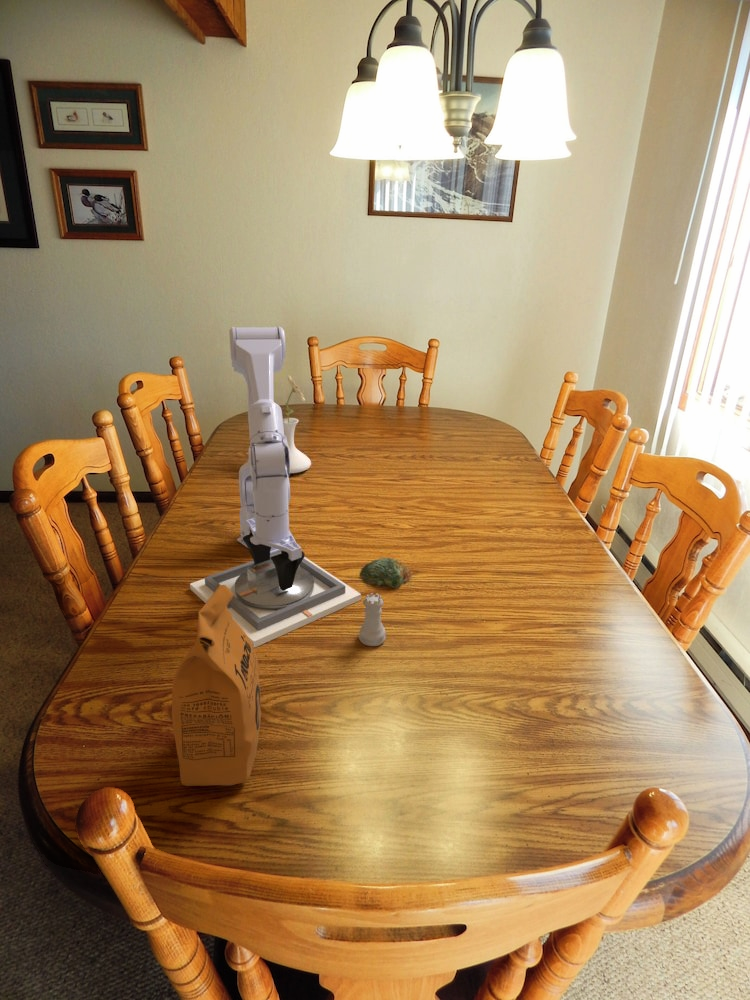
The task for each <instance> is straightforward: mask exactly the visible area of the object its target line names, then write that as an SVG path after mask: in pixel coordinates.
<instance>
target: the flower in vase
mask: <svg viewBox="0 0 750 1000" xmlns="http://www.w3.org/2000/svg"><path fill="white" fill-rule="evenodd" d="M287 381H288V382H289V385H290V386H291V392H290V393H289V396H288V399H287V401H286V402H285V406H286V413H285V416H287V417H285V418H283V417H282V418H283V427H284V436H286V439H287V443H288V446H289V450H290V460H291V469H290V474H297V473H301V472H304V471H307V470H308V469H309V468H310V467H311V466H312V461H311V459H310V458H309V457H308V456H307V454H305V453H303V452H302V451H300V450H299V449H297V447H296V445H295V430H296V426H297V424H298V423H299V421H300V420H299V419H298V418H295V417H290V416H289V415H291V414H292V413H295V410H293V409H290V407H289V403H290V399H291V397H292V395H293V393H294V394H296V396H297V397H298V398H299V399H300V400H301V402H306V399H305V395H304V394H303V393H302V392H301V391H300V387H299V385H297V384H296V383H295V380H294V378H293V377H291V375H288V376H287ZM285 466H286V465H285ZM286 468H287V467H286Z"/></svg>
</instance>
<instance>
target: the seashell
mask: <svg viewBox="0 0 750 1000" xmlns="http://www.w3.org/2000/svg"><path fill="white" fill-rule="evenodd" d="M411 573H412V572H411V571H410V570H409V568H407V567H406V565H405V564H402V561H398V559H394V558H390V557H387V558H386V557H383V558H382V557H380V558H378V559H374V560H372V561H370V562H369V563H367V564H365V565H364V566H363V567H362V568H361V570H360V571H359V577H360V579H362V581H363V582H364V583H366V584H368V585H372V586H376V587H380V588H383V587H386V588H387V587H388V588H391V589H399V588H400V587H401V585H403V584H406V583H409V582H410V581H411V579H412V577H413V574H411Z"/></svg>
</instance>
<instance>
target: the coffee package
mask: <svg viewBox="0 0 750 1000" xmlns="http://www.w3.org/2000/svg"><path fill="white" fill-rule="evenodd" d="M232 597H233V593H232V592H231V591H230V590H229V588H228V587H227V586H226V585H219V587H218V588H217V589H216V591H215V592H214V594H213V595H212V596H211V597H210V599H209V600H208V601H207V602H206V603H205V604H204V605H203V607H202V608H201V609H200V610H199V611H198V614H197V615H198V617H197V631H196V633H197V634H196V638H195V643H194V645H193V646H192V647H191V648H190V649H189V651H188V652H187V654H186V655H185V656H184V658H183V659H182V660H181V661H180V662H179V665H178V667H177V669H176V672H175V674H174V677H173V679H172V688H171V691H172V692H171V716H172V718H171V719H172V731H173V735H174V741H175V749H176V753H177V758H178V765H179V778H180V783H181V785H183V786H186V787H192V786H195V787H197V786H199V787H201V786H202V787H204V786H205V787H206V786H234V785H236V784H237V785H238V784H243V783H244V784H245V783H247V782H248V780H249V779H250V777H251V774H252V770H253V767H254V762H255V759H256V755H257V749H258V742H259V735H260V727H261V718H262V711H261V686H260V675H259V674H260V672H259V671H260V669H259V660H258V657H257V652H256V651H255V648H254V647H253V644H252V642H251V641H250V639H249V638H248V636H247V635H246V633H245V632H244V631H243V629H242V628H241V627H240V626H239V625H238V624H237V623H236V622H235V621H234V620H233V619H232V616H231V614H230V612H229V610H228V608H227V604H228V603H229V602H230V601H231V599H232Z"/></svg>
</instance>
